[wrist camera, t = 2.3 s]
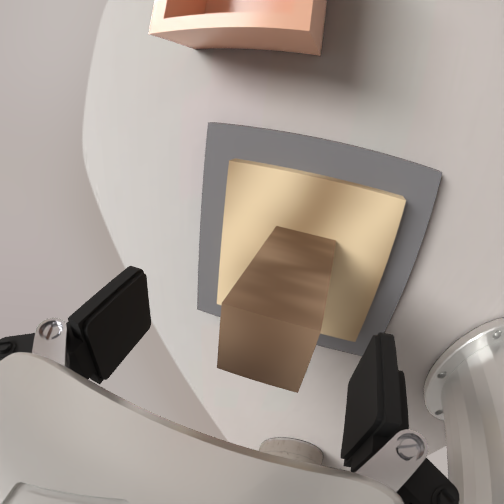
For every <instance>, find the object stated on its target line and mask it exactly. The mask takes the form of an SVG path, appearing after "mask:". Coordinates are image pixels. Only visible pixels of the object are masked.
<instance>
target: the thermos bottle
mask: <svg viewBox="0 0 504 504" xmlns="http://www.w3.org/2000/svg"><path fill="white" fill-rule="evenodd" d="M259 451H260V452H264V453H268V454H271V455H275V456H280V457H284V458H288V459H292V460H297V461H301V462H306V463H311V464H316V465H321V464H322V460H323V454H322V451H321V450H320V449H319V448H317V447H316V446H314V445H312V444H310V443H307V442H305V441H301V440H297V439H292V438H272V439H268V440H265V441H264V442H263V443H262V444H261V446H260V448H259Z"/></svg>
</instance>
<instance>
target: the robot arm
mask: <svg viewBox="0 0 504 504" xmlns="http://www.w3.org/2000/svg"><path fill="white" fill-rule="evenodd" d="M68 321H69V322H67V323H65V322H64V321H63V320H61V319H58V318H50V319H47V320H45V321H43V322H41V323H40V324H39V325H38V327H37V328H36V331H35V333H32V334H25V335H17V336H10V337H5V338H2V339H0V504H504V318H500V319H496V320H493V321H491V322H488V323H485V324H483V325H481V326H479V327H478V328H476V329H474V330H472V331H470V332H469V333H467V334H466V335H464V336H463V337H461V338H460V339H459V340H457V341H456V342H455V343H454V344H453V345H452V346H450V347H449V348H448V349H447V350H446V351H445V352H444V353H443V354H442V355H441V356H440V357H439V359H438V360H437V361H436V363H435V364H434V365H433V367H432V368H431V370H430V372H429V374H428V376H427V378H426V381H425V385H424V399H425V406H426V408H427V410H428V412H429V413H430V414H431V415H432V416H434V417H436V418H438V419H440V420H443V421H444V424H445V434H446V445H447V459H448V479H447V478H446V477H445V476H444V475H443V474H442V473H441V472H440V471H439V470H438V469H437V468H436V467H435V466H434V465H433V464H432V463H431V462H430V461H429V460H428V459H427V458H426V456H427V454H428V443H427V441H426V439H425V438H424V436H423V435H422V434H420V433H419V432H417V431H415V430H411V429H409V424H408V408H407V396H406V385H405V376H404V373H403V371H399V370H398V366H397V357H396V348H395V341H394V336H393V335H391V334H386V333H381V332H379V333H378V335H373V336H372V338H371V340H370V342H369V344H368V346H367V348H366V350H365V352H364V354H363V356H362V358H361V360H360V362H359V364H358V366H357V368H356V369H355V371H354V373H353V375H352V377H351V379H350V381H349V384H348V393H347V404H346V415H345V424H344V433H343V441H342V449H341V458H342V459H344V466H346V467H351V472H349V471H345V470H341V469H336V468H331V467H326V466H321V465H316V464H311V463H306V462H301V461H297V460H292V459H288V458H284V457H280V456H275V455H271V454H268V453H264V452H260V451H256V450H253V449H249V448H246V447H242V446H239V445H236V444H233V443H230V442H226V441H223V440H220V439H217V438H215V437H212V436H208V435H206V434H203V433H201V432H198V431H195V430H193V429H190V428H187V427H185V426H182V425H180V424H177V423H175V422H172V421H170V420H168V419H165V418H163V417H161V416H158V415H156V414H154V413H152V412H150V411H147V410H145V409H143V408H141V407H139V406H137V405H135V404H133V403H131V402H129V401H126V400H125V399H123V398H121V397H119V396H117V395H115V394H113V393H111V392H109V391H107V390H105V389H104V388H102V387H100V386H98V385H97V384H95V383H93V382H91V381H89V380H88V379H89V378H90V379H92V380H93V381H95V382H97V383H99V384H100V383H101V382H102V381H103V380H104V379H105V380H106V379H108V378H109V377H110V375H111V374H112V373H113V372H114V370H115V369H116V368H117V367H118V366H119V364H120V363H121V362H122V361H123V360H124V358H125V357H126V356H127V355H128V354H129V352H130V351H131V350H132V349H133V347H134V346H135V345H136V344H137V343H138V342H139V340H140V339H141V338H142V337H143V336H144V334H145V333H146V332H147V331H148V330H149V328H150V325H151V317H150V308H149V298H148V288H147V277H146V274H144V271H143V270H142V269H139V268H136V267H133V266H129V267H128V268H126V269H125V270H124V271H123V272H121V273H120V274H119V275H118V276H117V277H115V278H114V279H113V280H112V281H111V282H109V283H108V284H107V285H106V286H105V287H103V288H102V289H101V290H100V291H99V292H97V293H96V294H95V295H94V296H93V297H92V298H90V299H89V300H88V301H87V302H86V303H85V304H83V305H82V306H81V307H80V308H79V309H78V310H77V311H75V312H74V313H73V314H72V315H71V316H70V317H69V318H68Z"/></svg>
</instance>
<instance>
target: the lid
mask: <svg viewBox="0 0 504 504" xmlns="http://www.w3.org/2000/svg"><path fill="white" fill-rule="evenodd" d="M405 203H406V200H405V198H404V197H403V196H401V195H398V194H394V193H391V192H387V191H384V190H380V189H376V188H372V187H369V186H365V185H361V184H357V183H353V182H349V181H345V180H341V179H337V178H333V177H328V176H324V175H320V174H315V173H310V172H306V171H301V170H296V169H291V168H286V167H281V166H276V165H271V164H265V163H260V162H254V161H248V160H242V159H236V158H235V159H232V160H229V166H228V175H227V185H226V196H225V206H224V217H223V229H222V241H221V253H220V266H219V279H218V293H217V304H219V305H221V318H220V332H219V346H218V361H217V368H219V369H222V370H225V371H228V372H231V373H234V374H237V375H240V376H243V377H246V378H249V379H252V380H255V381H259V382H262V383H265V384H269V385H272V386H275V387H279V388H282V389H286V390H290V391H293V392H297V393H298V391H299V388H300V386H301V383H302V381H303V378H304V376H305V373H306V370H307V368H308V365H309V363H310V360H311V357H312V354H313V352H314V349H315V346H316V344H317V341H318V338H319V335H320V334H324V335H328V336H332V337H336V338H340V339H344V340H348V341H353V342H355V341H356V339H357V337H358V334H359V332H360V330H361V328H362V325H363V323H364V321H365V318H366V316H367V313H368V311H369V309H370V306H371V304H372V301H373V299H374V296H375V293H376V291H377V288H378V286H379V283H380V280H381V278H382V275H383V272H384V269H385V266H386V264H387V261H388V258H389V255H390V252H391V249H392V246H393V243H394V240H395V237H396V233H397V230H398V227H399V224H400V220H401V217H402V213H403V210H404V206H405Z"/></svg>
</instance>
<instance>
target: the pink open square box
mask: <svg viewBox="0 0 504 504" xmlns="http://www.w3.org/2000/svg"><path fill="white" fill-rule="evenodd" d="M326 5H327V0H155V1H154V6H153V12H152V17H151V23H150V28H149V34H150V35H153V36H157V37H160V38H163V39H166V40H169V41H172V42H176V43H178V44H181V45H184V46H187V47H190V48H193V49H215V48H231V49H260V50H275V51H286V52H295V53H304V54H311V55H318V56H321V48H322V40H323V32H324V23H325V14H326Z"/></svg>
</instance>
